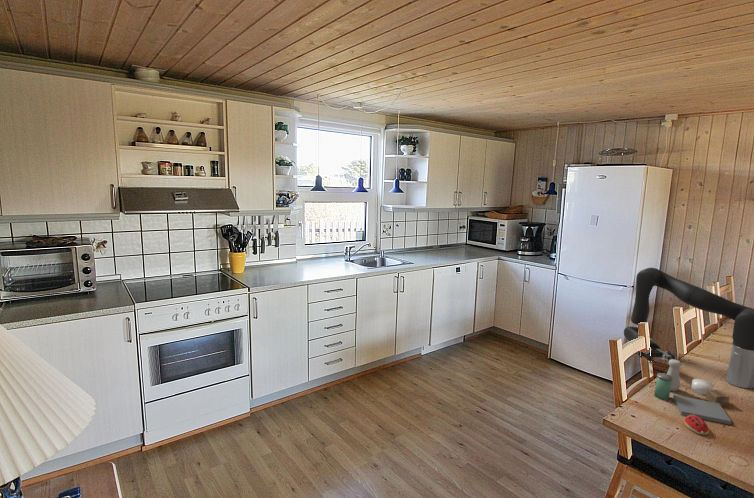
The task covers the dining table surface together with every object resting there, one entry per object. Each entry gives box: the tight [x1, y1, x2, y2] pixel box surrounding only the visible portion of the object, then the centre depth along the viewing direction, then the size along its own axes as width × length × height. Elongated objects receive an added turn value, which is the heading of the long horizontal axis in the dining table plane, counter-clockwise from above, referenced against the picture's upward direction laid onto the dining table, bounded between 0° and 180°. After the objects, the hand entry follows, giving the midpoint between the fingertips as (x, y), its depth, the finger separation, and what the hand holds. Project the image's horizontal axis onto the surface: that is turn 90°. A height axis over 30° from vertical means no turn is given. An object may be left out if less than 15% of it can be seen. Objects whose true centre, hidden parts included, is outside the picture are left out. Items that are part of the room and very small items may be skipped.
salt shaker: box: [666, 359, 682, 393], centre depth 175 cm, size 6×6×13 cm
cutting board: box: [672, 394, 732, 426], centre depth 160 cm, size 15×13×2 cm
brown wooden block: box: [705, 389, 730, 407], centre depth 166 cm, size 5×5×4 cm
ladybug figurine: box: [683, 415, 710, 436], centre depth 149 cm, size 7×10×4 cm
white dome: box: [690, 378, 714, 397], centre depth 174 cm, size 7×7×4 cm
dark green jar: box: [653, 372, 672, 401], centre depth 169 cm, size 5×5×9 cm
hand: (661, 361), depth 186 cm, fingers open, 8 cm apart
